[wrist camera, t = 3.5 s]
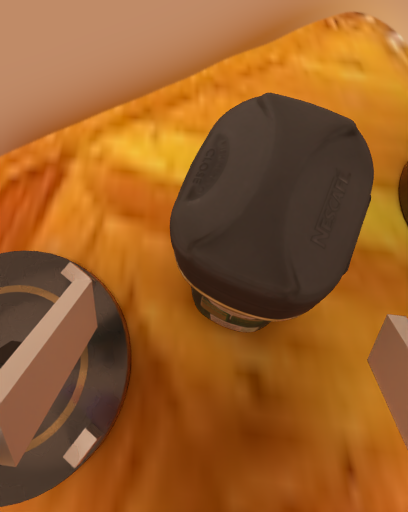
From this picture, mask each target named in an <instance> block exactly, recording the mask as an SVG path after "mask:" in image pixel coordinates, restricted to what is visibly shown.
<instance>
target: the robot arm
mask: <svg viewBox="0 0 408 512" xmlns="http://www.w3.org/2000/svg"><path fill="white" fill-rule="evenodd" d="M399 195H400V203H401V207H402V211H403V214H404V216H405V219H406V221H407V223H408V162H407V163H406V165H405V167H404V169H403V172H402V175H401V179H400V187H399ZM96 328H97V320H96V311H95V303H94V295H93V287H92V280H83V279H75V280H74V281H73V282H72V283H71V284H70V286H69V287H68V288H67V289H66V290H65V292H64V293H63V294H62V295H61V297H60V298H59V299H58V300H57V301H56V303H55V304H54V305H53V306H52V307H51V309H50V310H49V311H48V312H47V313H46V315H45V316H44V317H43V318H42V319H41V321H40V322H39V323H38V324H37V325H36V327H35V328H34V329H33V330H32V331H31V333H30V334H29V335H28V336H27V337H26V339H25V340H24V341H23V342H19V341H10V342H8V343H7V344H5V345H4V346H2V347H1V348H0V465H5V466H12V467H16V466H17V465H18V463H19V461H20V459H21V458H22V456H23V454H24V453H25V451H26V449H27V447H28V446H29V444H30V442H31V440H32V439H33V437H34V435H35V434H36V432H37V430H38V428H39V427H40V425H41V423H42V421H43V420H44V418H45V416H46V415H47V413H48V411H49V409H50V408H51V406H52V404H53V403H54V401H55V399H56V397H57V396H58V394H59V392H60V390H61V389H62V387H63V385H64V384H65V382H66V380H67V378H68V377H69V375H70V373H71V371H72V370H73V368H74V366H75V365H76V363H77V361H78V359H79V358H80V356H81V354H82V353H83V351H84V349H85V347H86V346H87V344H88V342H89V340H90V339H91V337H92V335H93V334H94V332H95V330H96ZM367 360H368V363H369V365H370V367H371V369H372V371H373V374H374V376H375V378H376V380H377V383H378V385H379V387H380V389H381V391H382V394H383V396H384V398H385V400H386V403H387V405H388V407H389V409H390V412H391V414H392V416H393V418H394V420H395V423H396V425H397V427H398V429H399V432H400V434H401V436H402V438H403V441H404V443H405V445H406V447H407V449H408V319H407V318H406V316H398V315H389V314H387V316H386V318H385V321H384V323H383V325H382V327H381V330H380V332H379V334H378V337H377V339H376V341H375V343H374V346H373V348H372V350H371V353H370V355H369V357H368V359H367Z"/></svg>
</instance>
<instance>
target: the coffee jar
mask: <svg viewBox="0 0 408 512" xmlns="http://www.w3.org/2000/svg"><path fill="white" fill-rule="evenodd" d="M373 179H374V169H373V162H372V157H371V154H370V150H369V148H368V146H367V143H366V141H365V139H364V138H363V136H362V135H361V133H360V132H359V131H358V129H357V127H356V124H355V123H354V122H353V121H352V120H350V119H349V118H346V117H344V116H341V115H339V114H337V113H334V112H332V111H330V110H327V109H325V108H322V107H319V106H316V105H314V104H311V103H308V102H304V101H301V100H298V99H294V98H290V97H286V96H282V95H278V94H274V93H266V94H263V95H262V96H259V97H255V98H252V99H250V100H247V101H244V102H242V103H240V104H239V105H237V106H235V107H234V108H232V109H230V110H229V111H228V112H226V113H225V114H224V115H223V116H222V117H221V118H220V119H219V120H218V121H217V122H216V123H215V125H214V126H213V128H212V129H211V131H210V132H209V134H208V136H207V138H206V140H205V141H204V143H203V144H202V146H201V148H200V150H199V151H198V153H197V155H196V157H195V159H194V160H193V162H192V164H191V166H190V169H189V171H188V173H187V175H186V177H185V180H184V182H183V184H182V187H181V189H180V192H179V194H178V197H177V199H176V201H175V204H174V207H173V209H172V213H171V218H170V236H171V242H172V246H173V249H174V254H175V259H176V262H177V265H178V268H179V270H180V272H181V273H182V275H183V277H184V278H185V280H186V281H187V282H188V283H189V284H190V285H191V288H192V295H193V299H194V302H195V305H196V307H197V308H198V310H199V311H200V312H201V313H202V314H203V315H204V316H206V317H207V318H209V319H210V320H212V321H214V322H216V323H218V324H220V325H222V326H224V327H227V328H229V329H232V330H236V331H240V332H254V331H257V330H259V329H261V328H263V327H264V326H266V325H267V324H269V323H270V322H271V321H284V320H289V319H292V318H296V317H298V316H300V315H301V314H303V313H305V312H307V311H309V310H310V309H312V308H313V307H314V306H315V305H316V304H318V303H319V302H320V301H321V300H322V299H324V298H325V297H326V296H327V295H328V294H329V293H330V292H331V291H332V290H333V289H334V287H335V286H336V285H337V284H338V282H339V281H340V279H341V277H342V275H343V274H345V273H346V272H347V271H348V268H349V264H350V261H351V258H352V254H353V251H354V248H355V245H356V242H357V239H358V236H359V233H360V230H361V227H362V224H363V221H364V218H365V215H366V212H367V209H368V207H369V204H370V201H371V195H370V194H371V190H372V184H373Z"/></svg>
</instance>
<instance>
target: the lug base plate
mask: <svg viewBox="0 0 408 512" xmlns="http://www.w3.org/2000/svg"><path fill="white" fill-rule="evenodd" d="M75 279H83V280H92V287H93V295H94V303H95V311H96V320H97V328H96V330H95V332H94V334H93V335H92V337H91V339H90V340H89V342H88V344H87V346H86V347H85V349H84V351H83V353H82V354H81V356H80V358H79V359H78V361H77V363H76V365H75V366H74V368H73V370H72V371H71V373H70V375H69V377H68V378H67V380H66V382H65V384H64V385H63V387H62V389H61V390H60V392H59V394H58V396H57V397H56V399H55V401H54V403H53V404H52V406H51V408H50V409H49V411H48V413H47V415H46V416H45V418H44V420H43V421H42V423H41V425H40V427H39V428H38V430H37V432H36V434H35V435H34V437H33V439H32V440H31V442H30V444H29V446H28V447H27V449H26V451H25V453H24V454H23V456H22V458H21V459H20V461H19V463H18V465H17V466H16V467H12V466H5V465H0V507H3V506H7V505H12V504H16V503H21V502H23V501H26V500H29V499H31V498H34V497H37V496H39V495H40V494H42V493H44V492H46V491H48V490H50V489H52V488H53V487H55V486H56V485H58V484H59V483H60V482H62V481H63V480H65V479H66V478H67V477H69V476H70V475H71V474H72V473H73V472H74V471H75V470H77V469H78V468H79V467H80V466H81V465H82V464H83V463H84V462H85V461H86V460H87V459H89V458H90V457H91V455H92V454H93V453H94V452H95V451H96V450H97V448H98V447H99V446H100V445H101V444H102V442H103V441H104V439H105V438H106V436H107V435H108V433H109V432H110V430H111V429H112V427H113V425H114V423H115V421H116V419H117V417H118V415H119V413H120V410H121V407H122V405H123V402H124V399H125V396H126V392H127V388H128V384H129V378H130V370H131V346H130V339H129V333H128V329H127V325H126V322H125V319H124V316H123V314H122V312H121V309H120V307H119V305H118V304H117V302H116V300H115V299H114V297H113V295H112V294H111V293H110V292H109V290H108V289H107V288H106V287H105V285H104V284H103V283H102V282H101V281H99V280H98V279H97V278H96V277H95V276H94V275H93V274H91V273H90V272H88V271H87V270H85V269H84V268H82V267H81V266H79V265H77V264H75V263H73V262H71V261H69V260H67V259H65V258H63V257H60V256H57V255H54V254H49V253H44V252H39V251H14V252H6V253H1V254H0V348H1V347H2V346H4V345H5V344H7V343H8V342H10V341H19V342H23V341H24V340H25V339H26V337H27V336H28V335H29V334H30V333H31V331H32V330H33V329H34V328H35V327H36V325H37V324H38V323H39V322H40V321H41V319H42V318H43V317H44V316H45V315H46V313H47V312H48V311H49V310H50V309H51V307H52V306H53V305H54V304H55V303H56V301H57V300H58V299H59V298H60V297H61V295H62V294H63V293H64V292H65V290H66V289H67V288H68V287H69V286H70V284H71V283H72V282H73V281H74V280H75Z"/></svg>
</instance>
